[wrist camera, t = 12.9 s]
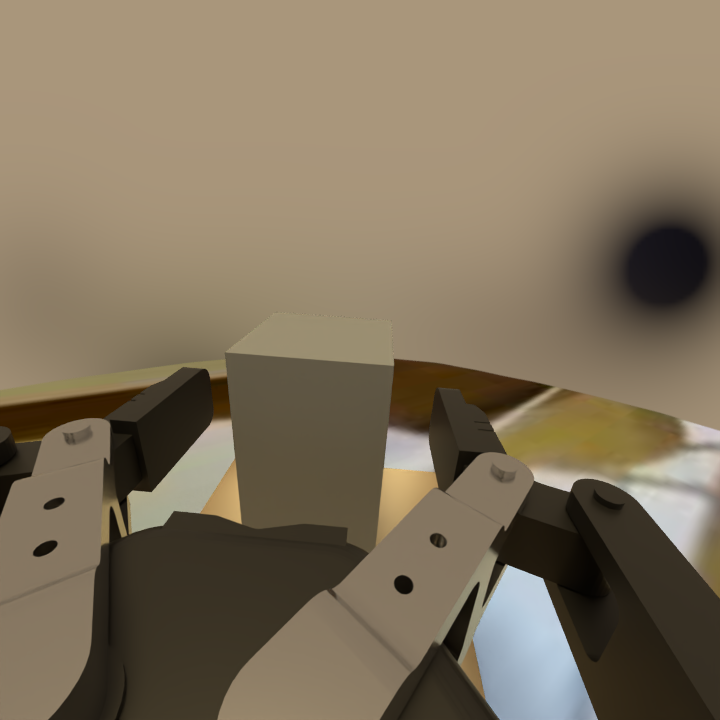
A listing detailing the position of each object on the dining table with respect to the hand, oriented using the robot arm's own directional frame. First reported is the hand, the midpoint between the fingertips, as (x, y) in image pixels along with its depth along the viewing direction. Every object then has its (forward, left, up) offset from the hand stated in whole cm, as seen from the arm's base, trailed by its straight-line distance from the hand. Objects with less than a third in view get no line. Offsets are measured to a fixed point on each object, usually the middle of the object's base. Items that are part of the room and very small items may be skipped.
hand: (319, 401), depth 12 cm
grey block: (0, 0, -7) cm, 8 cm away
